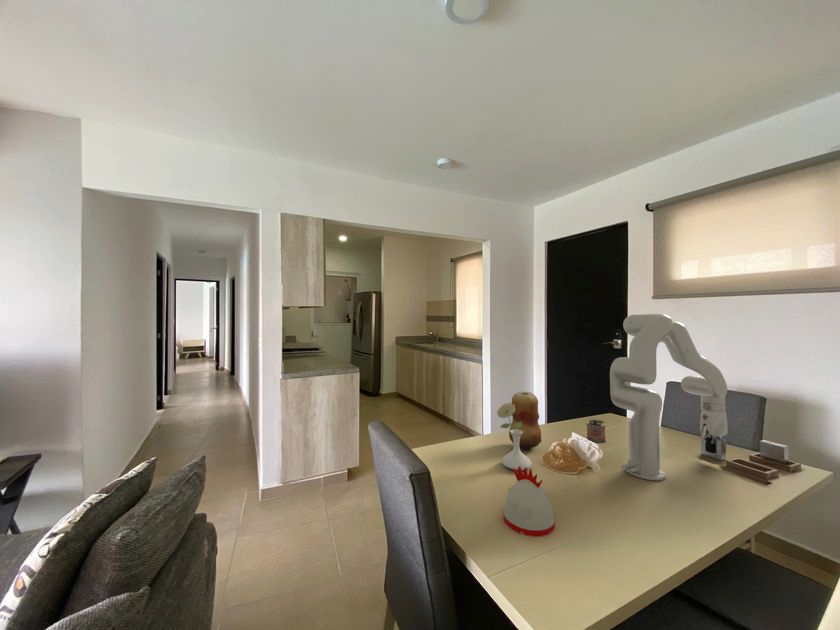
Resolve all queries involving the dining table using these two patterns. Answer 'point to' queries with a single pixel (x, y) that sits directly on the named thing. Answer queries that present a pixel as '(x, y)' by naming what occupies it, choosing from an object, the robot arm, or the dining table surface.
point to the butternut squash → (526, 419)
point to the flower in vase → (515, 456)
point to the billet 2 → (774, 452)
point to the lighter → (596, 430)
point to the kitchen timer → (528, 506)
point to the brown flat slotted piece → (760, 468)
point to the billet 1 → (719, 448)
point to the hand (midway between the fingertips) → (713, 451)
